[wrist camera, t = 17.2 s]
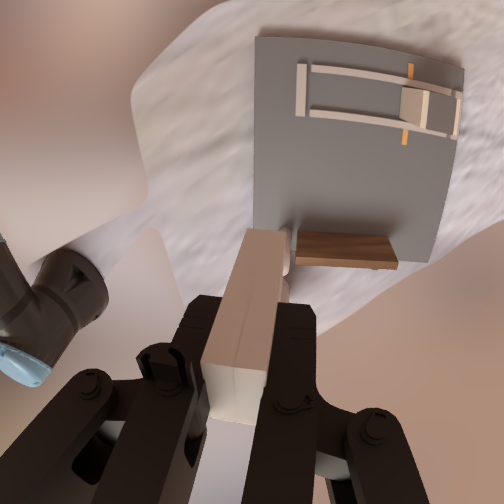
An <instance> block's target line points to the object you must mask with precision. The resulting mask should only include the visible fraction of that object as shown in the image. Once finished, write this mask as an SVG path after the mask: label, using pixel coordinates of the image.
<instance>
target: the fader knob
mask: <svg viewBox="0 0 504 504" xmlns="http://www.w3.org/2000/svg"><path fill="white" fill-rule="evenodd" d="M460 101H461V100H460V99H457V98H453V97H450V96H446V95H442V94H438V93H435V92H430V91H426V90H420V89H413V88H405V87H402V92H401V104H400V115H399V118H400V119H403V120H405V121H407V122H409V123H411V124H414V125H416V126H418V127H420V128H424V129H427V130H432V131H436V132H441V133H445V134H449V135H455V136H456V134H457V127H458V119H459V110H460Z"/></svg>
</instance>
